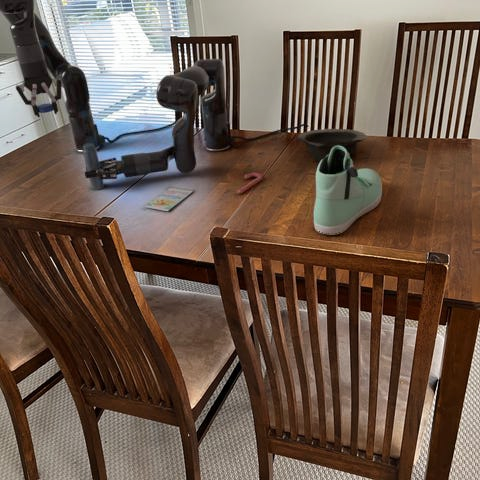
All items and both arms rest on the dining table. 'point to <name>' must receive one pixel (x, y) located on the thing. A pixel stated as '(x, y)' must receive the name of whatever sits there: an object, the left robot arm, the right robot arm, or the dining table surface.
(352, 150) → the stone bowl
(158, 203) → the baking ingredient package
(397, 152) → the dining table surface
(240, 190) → the candy cane
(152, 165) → the right robot arm
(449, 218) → the dining table surface
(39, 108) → the lid
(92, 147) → the jar
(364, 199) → the sneaker
